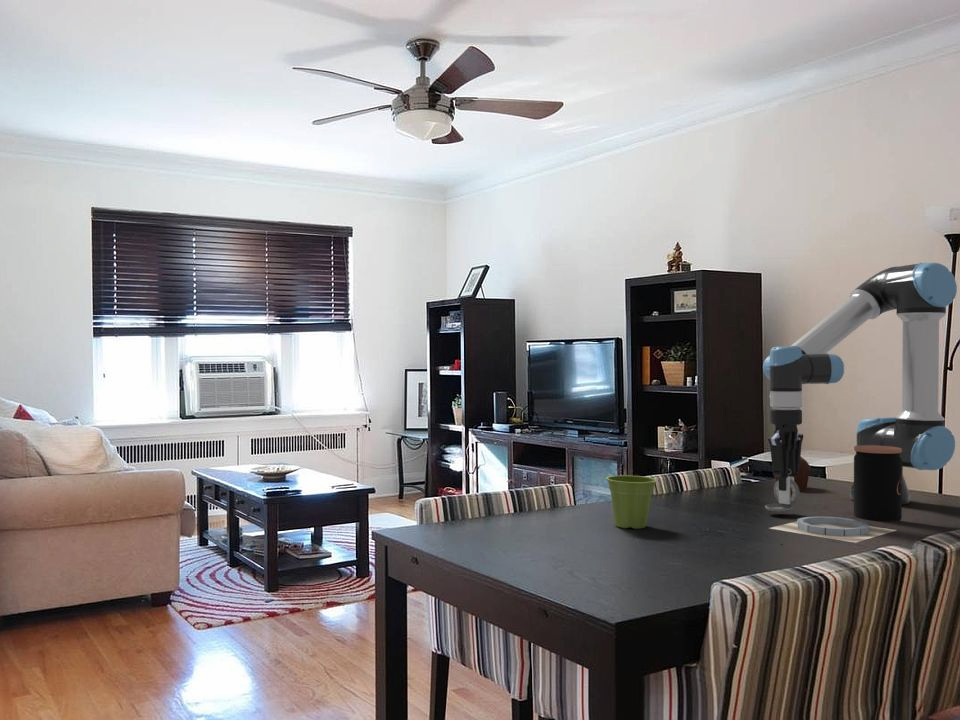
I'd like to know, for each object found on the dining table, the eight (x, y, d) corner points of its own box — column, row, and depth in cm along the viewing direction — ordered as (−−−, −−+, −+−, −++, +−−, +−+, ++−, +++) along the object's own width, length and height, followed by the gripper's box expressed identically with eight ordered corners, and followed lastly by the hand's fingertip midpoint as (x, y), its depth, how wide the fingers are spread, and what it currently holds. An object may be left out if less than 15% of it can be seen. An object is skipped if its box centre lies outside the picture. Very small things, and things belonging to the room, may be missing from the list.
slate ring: (817, 520, 205) (817, 514, 205) (879, 529, 194) (879, 523, 194) (785, 528, 196) (785, 521, 196) (849, 538, 185) (849, 531, 185)
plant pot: (645, 533, 194) (646, 483, 194) (597, 527, 201) (597, 479, 201) (664, 524, 204) (664, 477, 204) (617, 519, 211) (617, 473, 211)
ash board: (812, 521, 209) (812, 517, 209) (896, 534, 194) (896, 530, 194) (768, 532, 196) (768, 528, 196) (855, 547, 181) (855, 542, 181)
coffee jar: (907, 526, 204) (907, 450, 204) (859, 524, 206) (859, 449, 206) (894, 518, 214) (895, 445, 214) (849, 516, 217) (849, 444, 216)
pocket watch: (766, 512, 210) (765, 471, 210) (763, 506, 218) (763, 466, 218) (801, 513, 208) (801, 472, 208) (798, 507, 216) (798, 467, 216)
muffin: (805, 492, 255) (805, 458, 255) (767, 489, 262) (767, 456, 262) (814, 487, 265) (814, 454, 265) (777, 484, 271) (777, 452, 271)
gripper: (786, 406, 222) (787, 497, 222) (756, 409, 212) (757, 504, 212) (814, 407, 216) (814, 501, 216) (785, 410, 207) (785, 508, 207)
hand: (786, 502), depth 214 cm, fingers closed on pocket watch
